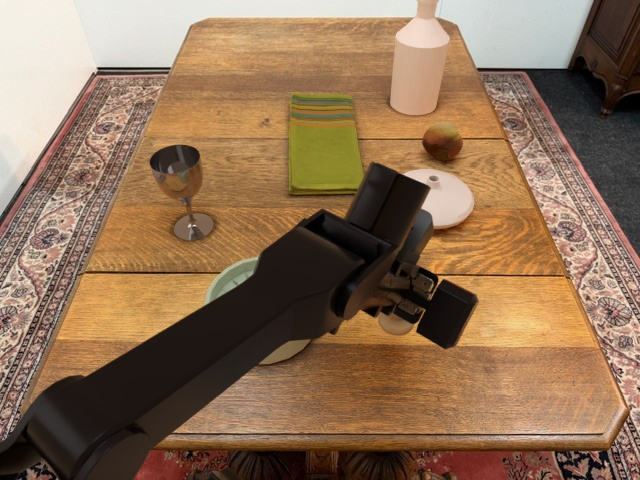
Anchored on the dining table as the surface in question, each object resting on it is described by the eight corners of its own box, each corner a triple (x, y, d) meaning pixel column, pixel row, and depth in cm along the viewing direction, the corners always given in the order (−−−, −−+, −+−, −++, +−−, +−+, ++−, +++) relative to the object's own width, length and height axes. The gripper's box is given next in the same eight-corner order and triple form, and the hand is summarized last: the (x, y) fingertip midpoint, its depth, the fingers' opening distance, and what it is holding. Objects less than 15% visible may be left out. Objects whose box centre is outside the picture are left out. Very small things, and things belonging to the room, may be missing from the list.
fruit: (459, 170, 97) (467, 136, 91) (418, 165, 98) (424, 132, 92) (459, 149, 102) (466, 116, 96) (420, 145, 103) (425, 112, 98)
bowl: (298, 379, 64) (297, 360, 61) (191, 349, 68) (183, 329, 64) (332, 289, 75) (332, 268, 72) (238, 267, 79) (233, 246, 75)
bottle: (440, 116, 112) (462, 4, 94) (390, 115, 112) (402, 4, 94) (434, 91, 120) (452, -16, 102) (387, 91, 120) (397, -16, 103)
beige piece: (411, 339, 60) (426, 273, 51) (375, 331, 61) (383, 264, 52) (416, 310, 64) (431, 242, 54) (381, 302, 65) (390, 235, 55)
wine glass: (207, 244, 83) (189, 175, 72) (164, 239, 84) (140, 171, 73) (221, 214, 88) (207, 146, 77) (181, 210, 89) (161, 142, 78)
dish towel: (351, 102, 117) (352, 90, 114) (367, 194, 92) (368, 181, 89) (289, 104, 116) (288, 91, 114) (288, 197, 91) (286, 184, 89)
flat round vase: (378, 229, 85) (382, 199, 80) (392, 176, 95) (396, 147, 90) (468, 245, 82) (477, 214, 77) (472, 189, 92) (481, 159, 87)
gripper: (495, 245, 40) (510, 258, 54) (320, 166, 48) (373, 194, 62) (435, 360, 41) (465, 343, 55) (275, 263, 49) (336, 270, 63)
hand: (407, 282), depth 59 cm, fingers closed on beige piece, 2 cm apart
